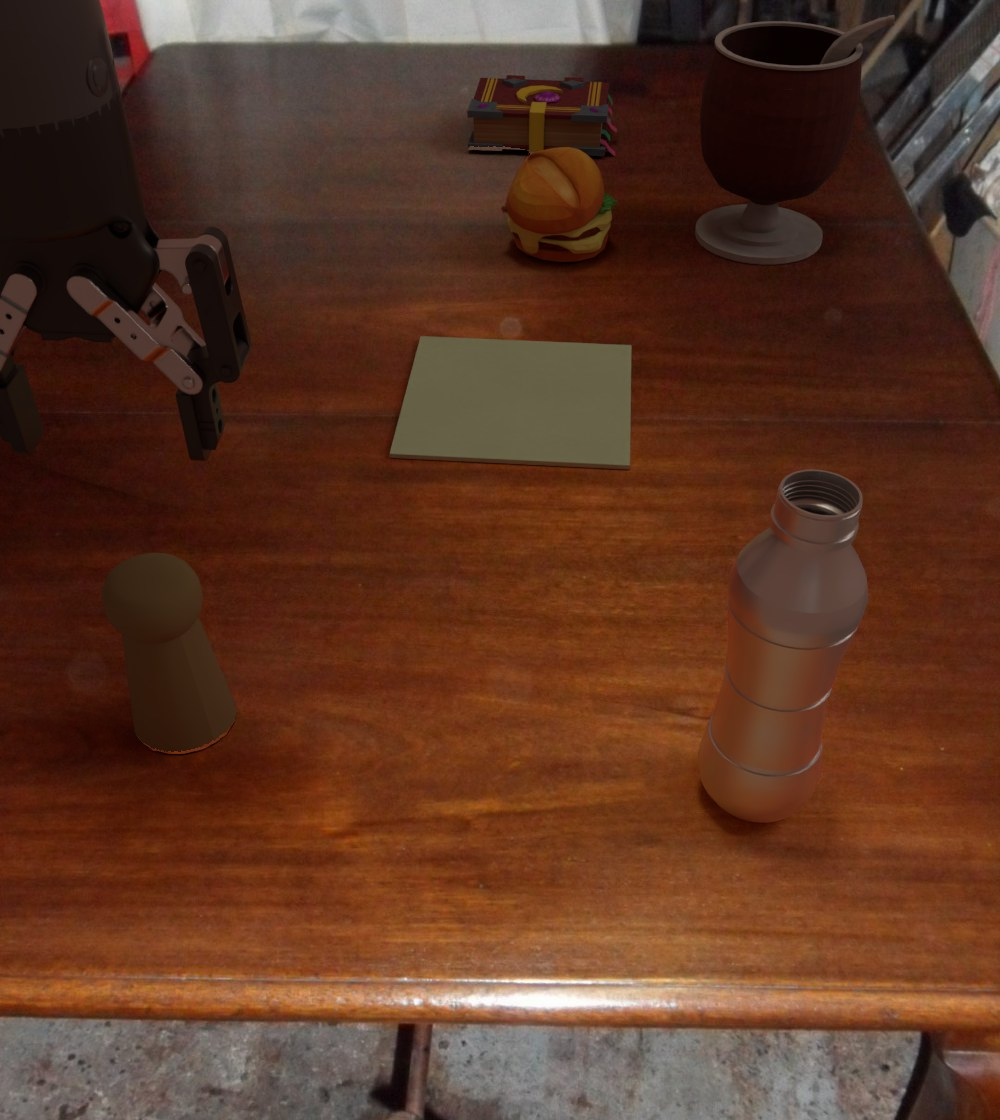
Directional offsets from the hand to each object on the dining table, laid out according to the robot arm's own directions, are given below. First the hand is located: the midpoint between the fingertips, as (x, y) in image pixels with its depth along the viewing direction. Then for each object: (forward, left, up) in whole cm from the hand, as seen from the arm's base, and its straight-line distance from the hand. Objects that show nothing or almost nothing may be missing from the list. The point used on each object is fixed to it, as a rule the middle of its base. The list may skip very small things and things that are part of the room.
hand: (116, 448), depth 57 cm
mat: (+17, +37, -18) cm, 45 cm away
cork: (0, 0, -19) cm, 19 cm away
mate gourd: (+39, +69, -19) cm, 81 cm away
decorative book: (+16, +93, -19) cm, 96 cm away
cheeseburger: (+19, +65, -19) cm, 70 cm away
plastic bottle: (+33, -3, -19) cm, 38 cm away
